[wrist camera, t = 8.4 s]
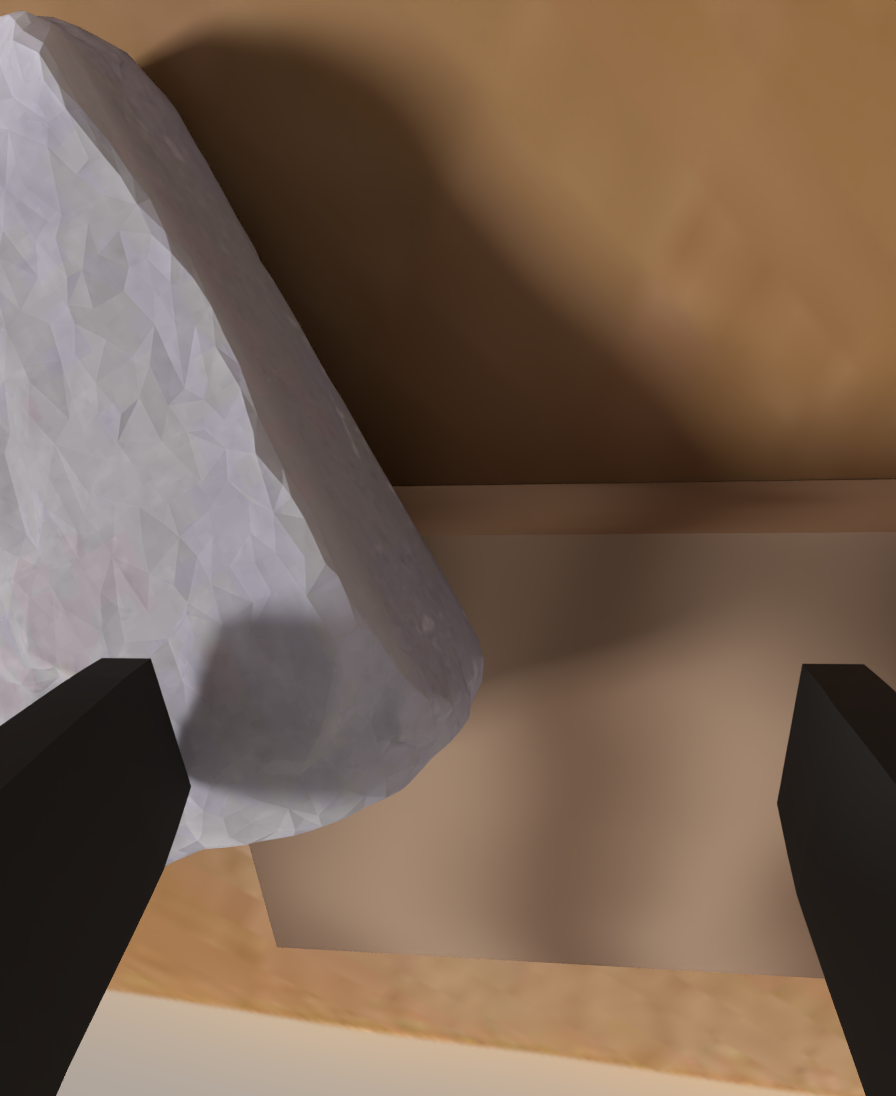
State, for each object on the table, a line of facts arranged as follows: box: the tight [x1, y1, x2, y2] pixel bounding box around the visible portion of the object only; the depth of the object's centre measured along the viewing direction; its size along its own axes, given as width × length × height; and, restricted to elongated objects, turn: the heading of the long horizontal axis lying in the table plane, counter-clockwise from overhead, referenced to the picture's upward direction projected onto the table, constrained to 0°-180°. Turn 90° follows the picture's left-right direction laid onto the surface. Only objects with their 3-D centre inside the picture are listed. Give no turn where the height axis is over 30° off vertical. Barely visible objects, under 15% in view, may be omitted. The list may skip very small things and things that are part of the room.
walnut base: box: [249, 479, 896, 978], centre depth 18 cm, size 16×12×2 cm
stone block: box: [0, 11, 484, 866], centre depth 13 cm, size 12×5×10 cm
